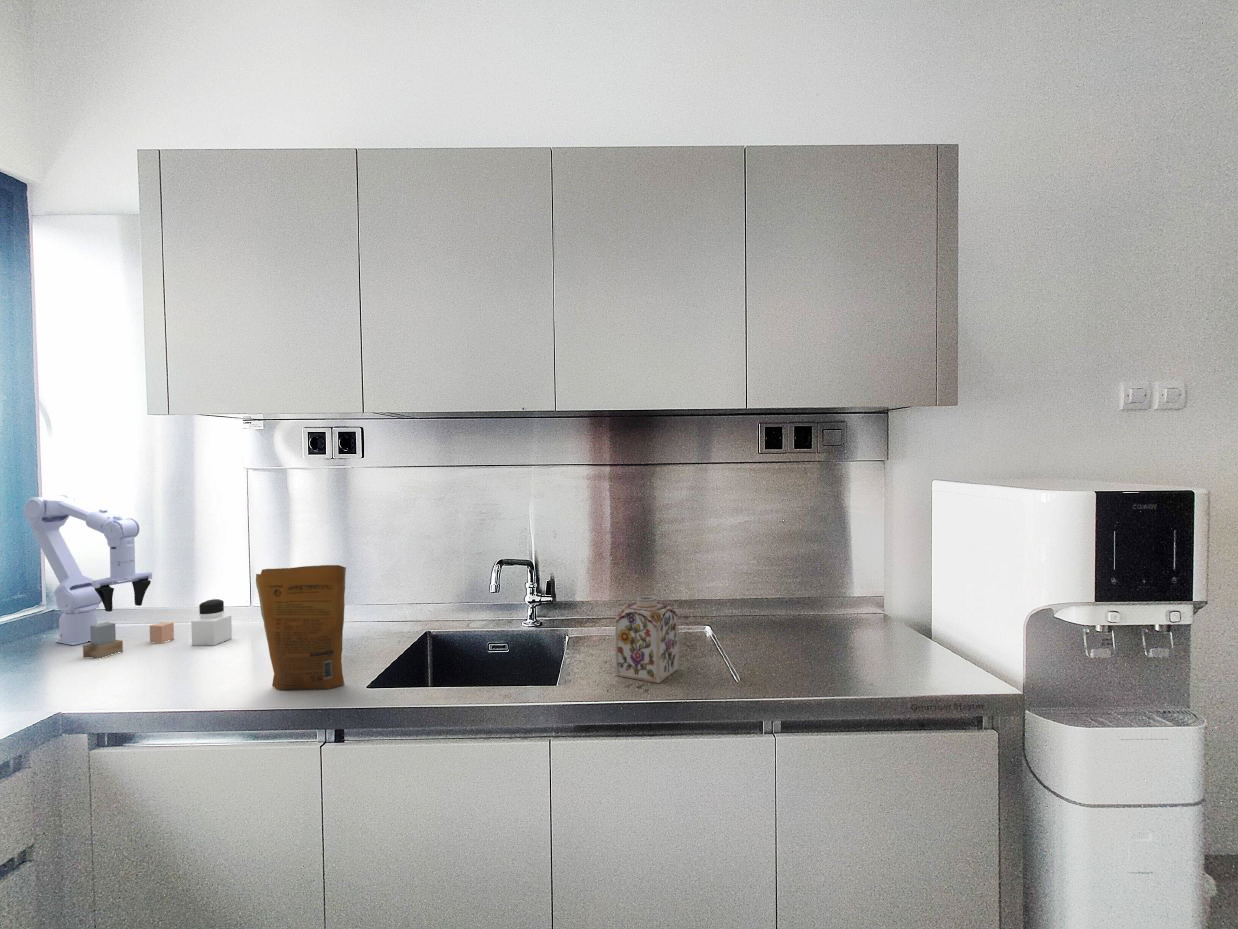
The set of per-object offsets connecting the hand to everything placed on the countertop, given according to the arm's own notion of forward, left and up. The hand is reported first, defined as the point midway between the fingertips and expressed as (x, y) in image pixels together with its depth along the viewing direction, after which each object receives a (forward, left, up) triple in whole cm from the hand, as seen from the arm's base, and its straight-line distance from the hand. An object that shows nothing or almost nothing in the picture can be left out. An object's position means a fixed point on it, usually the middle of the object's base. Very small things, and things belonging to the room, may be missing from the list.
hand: (123, 608), depth 186 cm
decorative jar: (+150, +33, -10) cm, 154 cm away
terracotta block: (+9, +5, -10) cm, 14 cm away
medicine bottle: (+24, +10, -10) cm, 28 cm away
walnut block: (+8, -9, -10) cm, 16 cm away
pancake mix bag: (+82, -6, -10) cm, 83 cm away
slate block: (+8, -9, -7) cm, 14 cm away
